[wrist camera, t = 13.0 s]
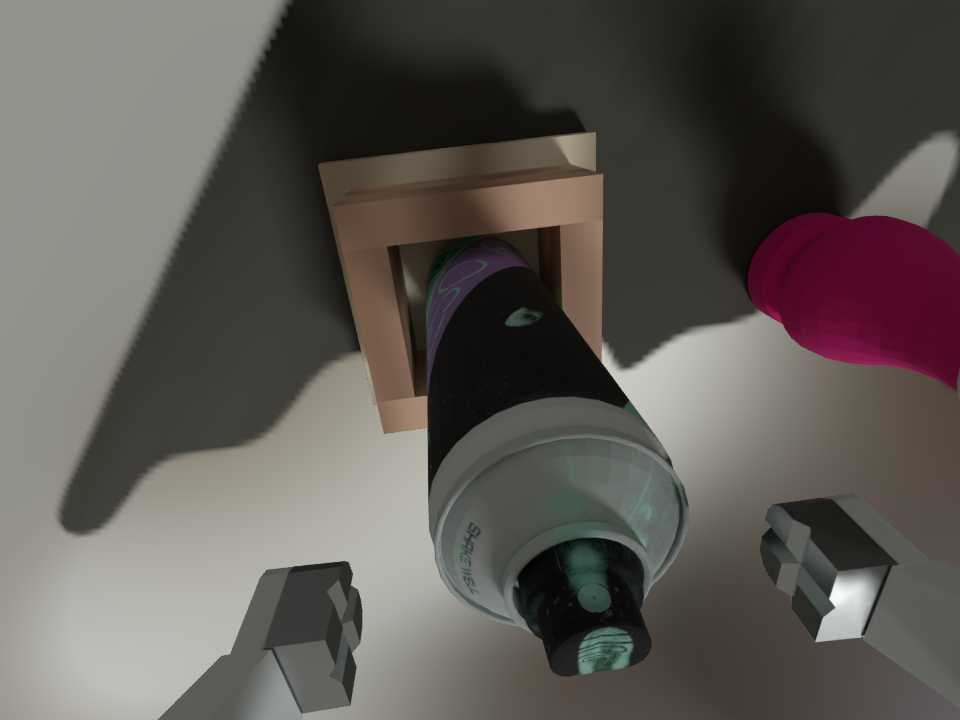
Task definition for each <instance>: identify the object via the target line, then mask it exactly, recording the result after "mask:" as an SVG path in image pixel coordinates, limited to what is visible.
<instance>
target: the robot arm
mask: <svg viewBox="0 0 960 720" xmlns="http://www.w3.org/2000/svg"><path fill="white" fill-rule="evenodd" d="M765 520H766V521H767V522H768V524H769V525H770V526H771V528H770V529H769V530H768V531H767V532H766V533H765V534H764V535H763V536H762V537H761V544H760V554H761V558H762V563H763V566H764V568H765V570H766V572H767V574H768V576H769V577H770V579H771V580H772V582H773V583H774V585H775V586H776V587H777V588H779V589H781V590H782V591H784V592H785V593H787V594H788V595H790V596H792V599H791V600H792V601H791V609H792V610H793V612H794V613H795V614H796V616H797V617H798V619H799V620H800V621H801V623H802V624H803V626H804V627H805V628H806V630H807V631H808V632H809V634H810V635H811V637H812V638H813V639H814V641H815V642H820V641H829V640H839V639H848V638H858V637H864V638H863V640H864V641H866V642H867V643H869V644H870V645H871V646H873V647H874V648H876V649H877V650H878V651H880V652H881V653H883V654H884V655H886V656H887V657H888V658H890V659H891V660H893V661H894V662H895V663H897V664H898V665H900V666H901V667H902V668H904V669H905V670H907V671H908V672H910V673H911V674H912V675H914V676H915V677H917V678H918V679H919V680H921V681H922V682H924V683H925V684H927V685H928V686H929V687H931V688H932V689H934V690H935V691H937V692H938V693H939V694H941V695H942V696H943V697H945V698H946V699H948V700H949V701H951V702H952V703H953V704H955V705H956V706H958V707H959V708H960V569H958V568H956V567H954V566H952V565H949V564H947V563H945V562H943V561H940V560H932V561H930V560H929V559H928V558H927V557H926V556H924V555H923V554H922V553H921V552H920V551H919V550H918V549H917V548H916V547H915V546H913V545H912V544H911V543H910V542H909V541H908V540H907V539H906V538H905V537H904V536H902V535H901V534H900V533H899V532H898V531H897V530H896V529H895V528H894V527H892V526H891V525H890V524H889V523H888V522H887V521H886V520H884V519H883V518H882V517H881V516H880V515H879V514H878V513H877V512H876V511H875V510H874V509H873V508H871V507H870V506H869V505H868V504H867V503H866V502H865V501H864V500H863V499H861V498H860V497H858V496H856V495H854V494H845V495H837V496H830V497H824V498H814V499H807V500H800V501H793V502H786V503H779V504H773V505H772V506H771V507H770V508H769V509H768V510H767V515H766V519H765ZM352 576H353V573H352V570H351V567H350V564H349V562H346V561H342V562H333V563H323V564H313V565H304V566H294V567H288V568H279V569H270V570H266V572H265V573H264V574H263V575H262V576H261V578H260V579H259V582H258V585H257V587H256V590H255V592H254V595H253V598H252V600H251V602H250V605H249V608H248V610H247V613H246V615H245V618H244V620H243V623H242V625H241V628H240V630H239V633H238V636H237V638H236V641H235V643H234V646H233V648H232V651H231V654H230V655H224V656H221V657H220V658H219V659H218V660H217V661H216V662H215V663H214V664H213V665H212V666H211V667H210V668H209V669H208V670H207V671H206V672H205V673H204V674H203V675H202V676H201V677H200V678H199V679H198V680H197V681H196V682H195V683H194V684H193V685H192V686H191V687H190V688H189V689H188V690H187V691H186V692H185V693H184V694H183V695H182V696H181V697H180V698H179V699H178V700H177V701H176V702H175V703H174V704H173V705H172V706H171V707H170V708H169V709H168V710H167V711H166V712H165V713H164V714H163V715H162V716H161V717H160V718H159V719H158V720H301V718H302V713H308V712H314V711H320V710H326V709H332V708H338V707H344V706H350V705H351V699H352V693H353V686H354V680H355V673H356V664H355V661H354V658H353V655H352V653H353V651H354V650H355V649H356V648H357V646H358V645H359V644H360V640H361V633H362V604H361V598H360V595H359V592H358V590H357V589H356V588H354V587H353V586H351V582H352Z"/></svg>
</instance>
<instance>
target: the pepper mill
mask: <svg viewBox="0 0 960 720" xmlns="http://www.w3.org/2000/svg"><path fill="white" fill-rule="evenodd" d="M748 291H749V295H750V297H751V299H752V302H753V303H754V305H755V306H756V307H757V308H758V309H759V310H760V311H762V312H763V313H764V314H766V315H768V316H770V317H771V318H773V319H775V320H777V321H778V322H780V323H782V324H783V325H784V327H785V329H786V331H787V332H788V334H789V335H790V336H791V338H792V339H793V340H795V341H796V342H797V343H798V344H799V345H800V346H802V347H804V348H806V349H808V350H810V351H812V352H814V353H816V354H818V355H821V356H823V357H825V358H828V359H832V360H837V361H841V362H845V363H852V364H863V365H885V366H894V367H901V368H905V369H909V370H913V371H917V372H919V373H922V374H924V375H926V376H929V377H931V378H933V379H936V380H938V381H940V382H942V383H945V384H947V385H948V386H950V387H951V388H953V389H955V390H956V391H958V395H959V398H960V256H959V255H958V254H957V253H956V252H955V251H954V250H953V249H952V248H951V247H950V246H949V245H948V244H947V243H946V242H944V241H943V240H942V239H940V238H939V237H937V236H936V235H934V234H932V233H931V232H929V231H928V230H926V229H924V228H922V227H920V226H918V225H916V224H912V223H909V222H906V221H903V220H900V219H897V218H893V217H888V216H865V217H859V218H855V219H848V218H844V217H840V216H836V215H832V214H827V213H809V214H803V215H800V216H797V217H794V218H792V219H790V220H788V221H786V222H785V223H783V224H782V225H780V226H779V227H777V228H776V229H775V230H773V231H772V232H771V233H770V234H769V235H768V236H767V238H766V239H765V240H764V241H763V242H762V243H761V244H760V246H759V248H758V249H757V251H756V253H755V255H754V256H753V258H752V261H751V264H750V268H749V271H748Z"/></svg>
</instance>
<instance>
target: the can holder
mask: <svg viewBox="0 0 960 720" xmlns="http://www.w3.org/2000/svg"><path fill="white" fill-rule="evenodd" d="M318 167H319V172H320V176H321V180H322V185H323V189H324V193H325V197H326V202H327V206H328V210H329V215H330V219H331V223H332V228H333V232H334V236H335V241H336V245H337V249H338V253H339V258H340V262H341V266H342V271H343V275H344V279H345V284H346V288H347V292H348V297H349V301H350V305H351V309H352V314H353V318H354V322H355V327H356V331H357V335H358V340H359V344H360V348H361V353H362V357H363V361H364V365H365V370H366V374H367V378H368V382H369V387H370V391H371V395H372V400H373V404H374V405H378V409H379V414H380V418H381V423H382V427H383V431H384V434H386V433H394V432H400V431H408V430H416V429H423V428H428V418H427V330H426V281H427V275H428V271H429V268H430V266H431V263H432V261H433V260H434V258H435V257H436V255H437V253H438V252H439V251H440V250H441V249H442V248H443V247H444V246H445V245H447V244H448V243H450V242H451V241H453V240H454V239H457V238H459V237H467V236H476V235H484V234H490V235H495V236H497V237H500V238H502V239H504V240H506V241H507V242H509V243H510V244H512V245H513V246H514V247H515V248H516V249H517V250H518V251H519V252H520V253H521V254H522V256H523V257H524V258H525V260H526V261H527V262H528V264H529V265H530V266H531V268H532V269H533V270H534V272H535V273H536V274H537V276H538V277H539V279H540V280H541V281H542V283H543V284H544V285H545V287H546V288H547V289H548V291H549V292H550V293H551V295H552V296H553V297H554V299H555V300H556V302H557V303H558V304H559V306H560V307H561V308H562V310H563V311H564V312H565V314H566V315H567V316H568V318H569V319H570V321H571V322H572V323H573V325H574V326H575V327H576V329H577V330H578V331H579V333H580V334H581V335H582V337H583V338H584V339H585V341H586V342H587V344H588V345H589V346H590V348H591V349H592V350H593V352H594V353H595V354H596V356H597V357H598V358H599V360H600V361H601V350H602V239H603V174H601V173H598V172H596V132H580V133H571V134H562V135H554V136H545V137H537V138H528V139H519V140H511V141H502V142H494V143H485V144H476V145H468V146H459V147H450V148H442V149H433V150H425V151H416V152H407V153H399V154H390V155H382V156H373V157H364V158H356V159H347V160H338V161H330V162H323V163H321V164H318Z"/></svg>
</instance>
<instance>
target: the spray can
mask: <svg viewBox="0 0 960 720" xmlns="http://www.w3.org/2000/svg"><path fill="white" fill-rule="evenodd" d="M426 330H427V418H428V504H429V531H430V534H431V538H432V541H433V544H434V547H435V561H436V564H437V567H438V570H439V574H440V576H441V578H442V580H443V581H444V583H445V584H446V586H447V588H448V589H449V591H450V592H451V593H452V594H453V595H454V596H455V597H456V598H457V599H458V600H459V601H460V602H461V603H462V604H463V605H465V606H466V607H468V608H470V609H471V610H473V611H475V612H476V613H478V614H480V615H482V616H484V617H487V618H489V619H492V620H495V621H497V622H500V623H505V624H510V625H515V626H520V627H522V628H524V629H526V630H527V631H529V632H532V633H533V634H534V635H536V636H537V637H539V638H540V639H542V640H543V644H544V647H545V651H546V655H547V658H548V662H549V665H550V668H551V670H552V671H553V672H554V673H556V674H557V675H559V676H576V675H581V674H587V673H592V672H599V671H606V670H613V669H620V668H625V667H629V666H632V665H635V664H637V663H639V662H640V661H642V660H643V659H644V658H645V657H646V656H647V655H648V654H649V652H650V650H651V647H652V645H651V638H650V636H649V633H648V631H647V628H646V625H645V623H644V620H643V617H642V615H641V612H640V609H641V607H642V604H643V601H644V599H645V598H646V596H647V594H648V592H649V590H650V588H651V586H652V585H653V584H654V583H655V582H656V581H657V580H658V579H659V578H660V577H661V576H662V575H663V574H664V573H665V571H666V570H667V568H668V567H669V566H670V564H671V563H672V562H673V561H674V559H675V558H676V556H677V554H678V552H679V550H680V548H681V546H682V544H683V541H684V538H685V534H686V530H687V526H688V501H687V497H686V493H685V489H684V486H683V485H682V483H681V481H680V480H679V478H678V476H677V475H676V473H675V471H674V469H673V466H672V462H671V459H670V458H669V456H668V454H667V452H666V451H665V449H664V448H663V446H662V444H661V442H660V441H659V440H658V438H657V437H656V436H655V434H654V433H653V432H652V430H651V429H650V427H649V426H648V425H647V423H646V422H645V421H644V419H643V418H642V417H641V415H640V414H639V413H638V411H637V410H636V409H635V407H634V406H633V404H632V403H631V402H630V400H629V399H628V398H627V396H626V395H625V394H624V392H623V391H622V390H621V388H620V387H619V386H618V384H617V383H616V382H615V380H614V379H613V377H612V376H611V375H610V373H609V372H608V371H607V369H606V368H605V367H604V365H603V364H602V363H601V361H600V360H599V358H598V357H597V356H596V354H595V353H594V352H593V350H592V349H591V348H590V346H589V345H588V344H587V342H586V341H585V339H584V338H583V337H582V335H581V334H580V333H579V331H578V330H577V329H576V327H575V326H574V325H573V323H572V322H571V321H570V319H569V318H568V316H567V315H566V314H565V312H564V311H563V310H562V308H561V307H560V306H559V304H558V303H557V302H556V300H555V299H554V297H553V296H552V295H551V293H550V292H549V291H548V289H547V288H546V287H545V285H544V284H543V283H542V281H541V280H540V279H539V277H538V276H537V274H536V273H535V272H534V270H533V269H532V268H531V266H530V265H529V264H528V262H527V261H526V260H525V258H524V257H523V256H522V254H521V253H520V252H519V251H518V250H517V249H516V248H515V247H514V246H513V245H512V244H510V243H509V242H507V241H506V240H504V239H502V238H500V237H497V236H495V235H490V234H484V235H476V236H467V237H459V238H457V239H454V240H453V241H451V242H450V243H448V244H447V245H445V246H444V247H443V248H442V249H441V250H440V251H439V252H438V253H437V255H436V257H435V258H434V260H433V261H432V263H431V266H430V268H429V271H428V275H427V281H426Z"/></svg>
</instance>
